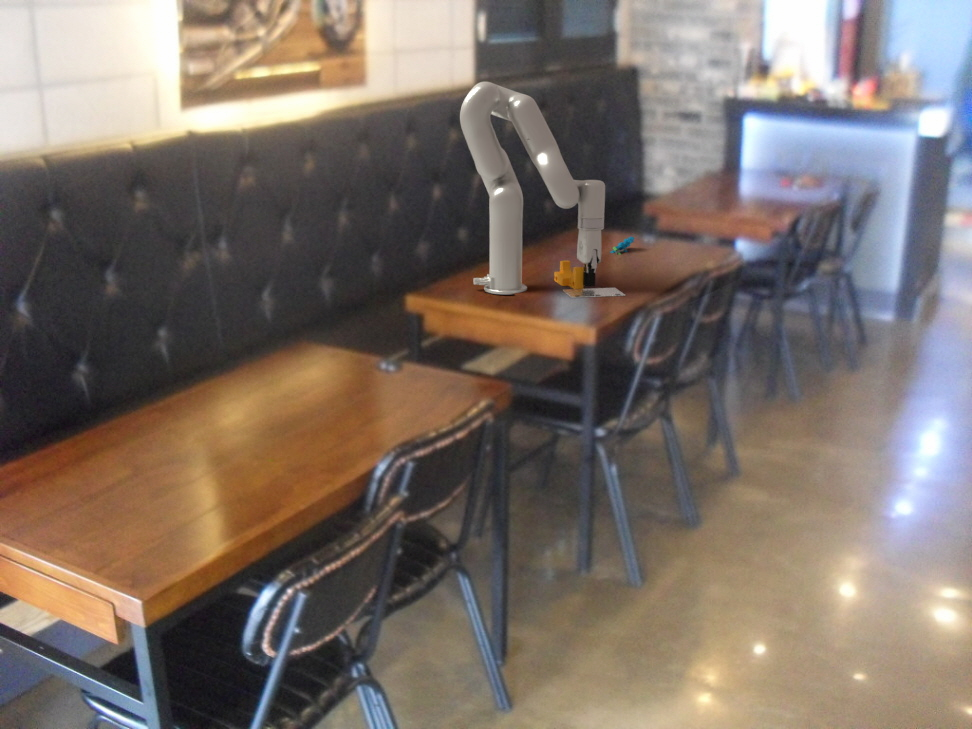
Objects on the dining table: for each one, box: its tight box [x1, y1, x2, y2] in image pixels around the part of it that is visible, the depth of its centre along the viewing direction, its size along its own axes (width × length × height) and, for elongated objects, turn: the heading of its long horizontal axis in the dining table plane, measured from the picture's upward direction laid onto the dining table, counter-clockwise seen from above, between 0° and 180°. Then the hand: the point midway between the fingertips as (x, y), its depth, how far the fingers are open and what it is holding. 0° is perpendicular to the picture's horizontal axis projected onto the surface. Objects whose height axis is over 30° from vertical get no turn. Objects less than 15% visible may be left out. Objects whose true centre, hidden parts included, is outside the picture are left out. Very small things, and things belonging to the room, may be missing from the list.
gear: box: [609, 235, 635, 256], centre depth 354 cm, size 11×6×10 cm
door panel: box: [562, 287, 626, 299], centre depth 304 cm, size 16×10×1 cm, turn 101°
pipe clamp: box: [553, 260, 584, 289], centre depth 314 cm, size 12×4×6 cm, turn 19°
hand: (589, 285), depth 309 cm, fingers closed
